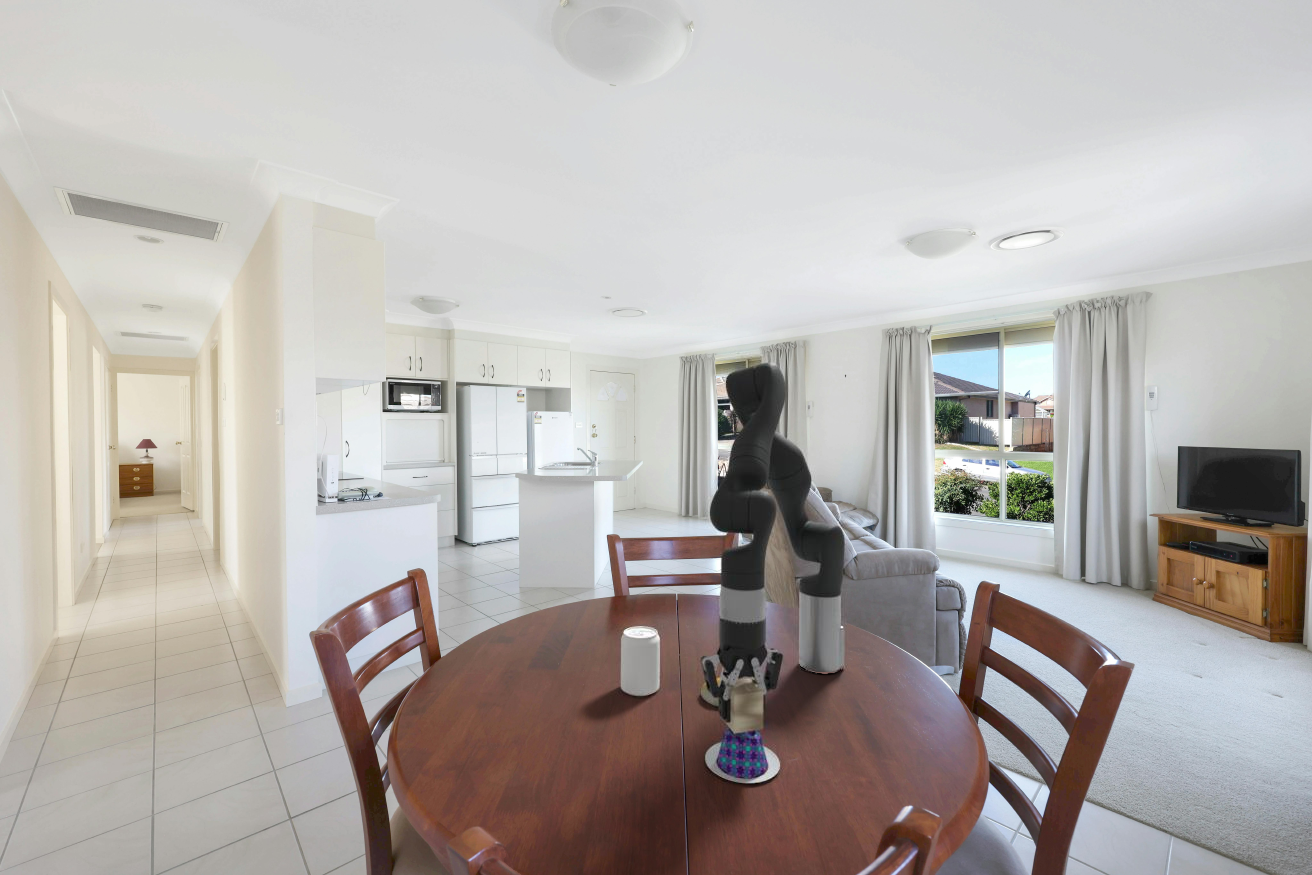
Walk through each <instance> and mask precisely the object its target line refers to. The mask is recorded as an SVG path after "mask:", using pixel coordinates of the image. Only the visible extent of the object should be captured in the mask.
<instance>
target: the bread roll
mask: <svg viewBox="0 0 1312 875" xmlns="http://www.w3.org/2000/svg"><path fill="white" fill-rule="evenodd" d="M716 679H717V683H718V685H719V682H720V677H716ZM739 679H740V678H739ZM739 679H737V680H739ZM700 689H701V690H700V694H701V697H702V699H703V700H705V702H707V703H708V704H710V705H712V706H714V707H719V697H717V698H714V697H713V696H712V694H711V693H710V692H709V691H708V690H707V687H706V682H704V683H703V685H702V686H701V688H700Z"/></svg>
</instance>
